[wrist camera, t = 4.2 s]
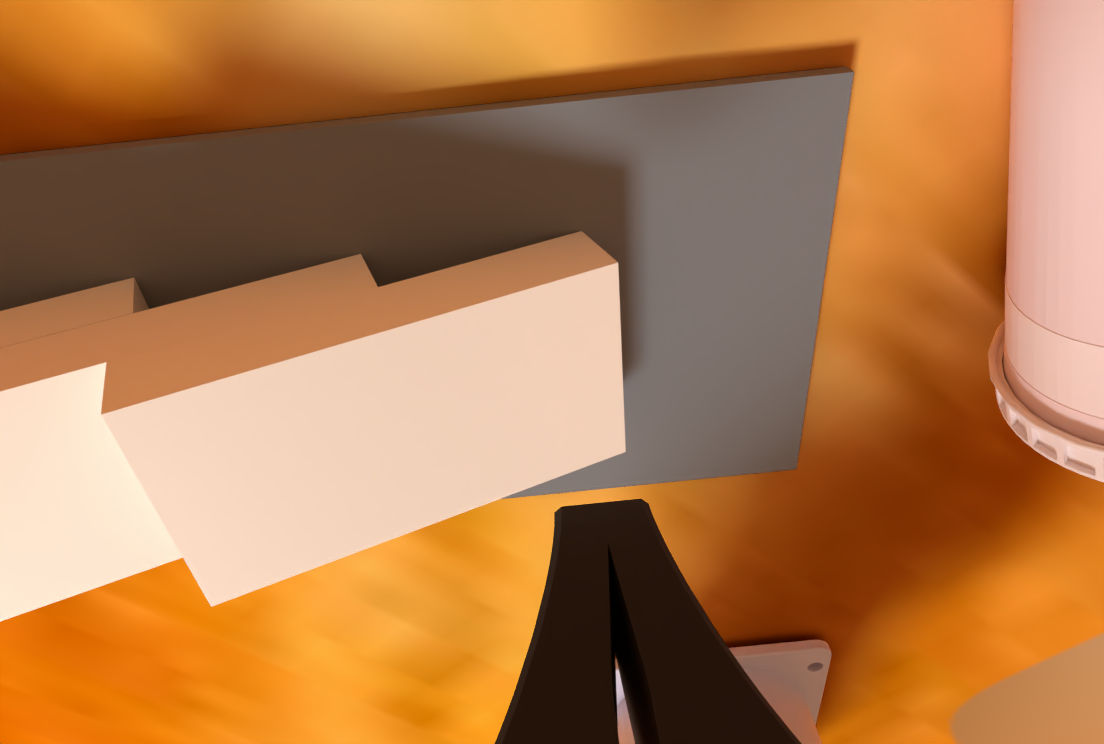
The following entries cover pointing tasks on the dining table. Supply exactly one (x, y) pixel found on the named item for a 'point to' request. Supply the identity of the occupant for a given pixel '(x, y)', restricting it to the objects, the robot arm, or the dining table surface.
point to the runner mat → (502, 233)
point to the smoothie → (1055, 236)
